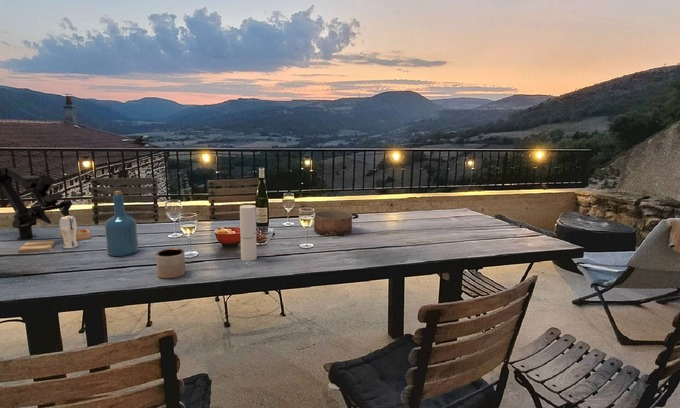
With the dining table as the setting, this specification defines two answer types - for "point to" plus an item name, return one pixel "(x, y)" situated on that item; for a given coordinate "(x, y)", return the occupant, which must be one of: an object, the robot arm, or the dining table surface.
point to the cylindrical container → (248, 232)
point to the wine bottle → (121, 230)
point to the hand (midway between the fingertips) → (60, 221)
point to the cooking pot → (333, 222)
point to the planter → (170, 263)
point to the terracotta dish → (83, 234)
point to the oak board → (36, 246)
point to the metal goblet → (68, 231)
